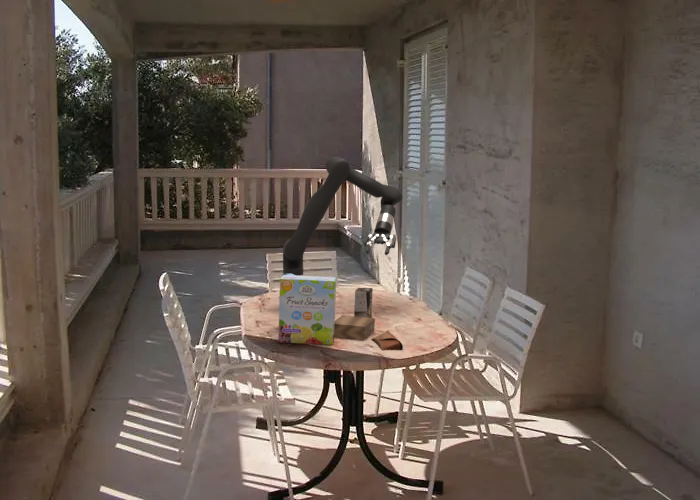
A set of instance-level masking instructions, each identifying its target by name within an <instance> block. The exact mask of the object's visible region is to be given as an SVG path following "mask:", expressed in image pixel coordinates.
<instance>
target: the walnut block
mask: <svg viewBox="0 0 700 500" xmlns="http://www.w3.org/2000/svg"><path fill="white" fill-rule="evenodd" d="M375 318H376V317H372V318H367V317H356V316H354V315H340V316H339V317H338V318H337V319H335V324H334V339H335V338H336V339H346V340H356V341H364V340H365V339H366V340H367V339H368V338H369V337H370V336H371V335H372V334H373V333H375V324H376V323H375V321H376V319H375Z"/></svg>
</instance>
